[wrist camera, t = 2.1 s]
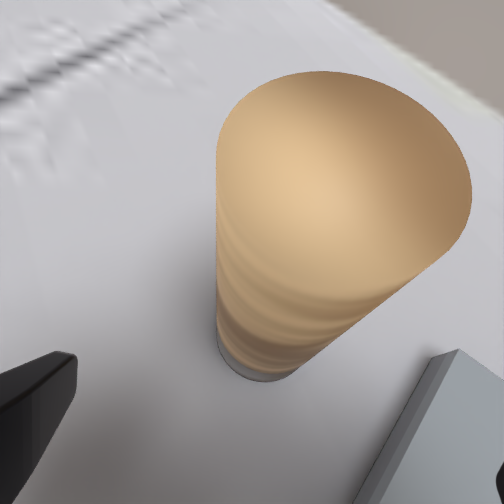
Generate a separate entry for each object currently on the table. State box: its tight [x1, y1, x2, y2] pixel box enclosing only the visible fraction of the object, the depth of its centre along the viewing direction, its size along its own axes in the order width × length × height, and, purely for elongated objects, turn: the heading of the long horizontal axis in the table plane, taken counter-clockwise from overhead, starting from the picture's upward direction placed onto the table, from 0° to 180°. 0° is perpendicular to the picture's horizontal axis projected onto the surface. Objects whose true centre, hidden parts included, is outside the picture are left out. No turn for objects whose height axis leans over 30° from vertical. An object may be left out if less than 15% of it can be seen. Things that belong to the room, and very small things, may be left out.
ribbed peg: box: [216, 71, 472, 382], centre depth 13 cm, size 5×5×14 cm
